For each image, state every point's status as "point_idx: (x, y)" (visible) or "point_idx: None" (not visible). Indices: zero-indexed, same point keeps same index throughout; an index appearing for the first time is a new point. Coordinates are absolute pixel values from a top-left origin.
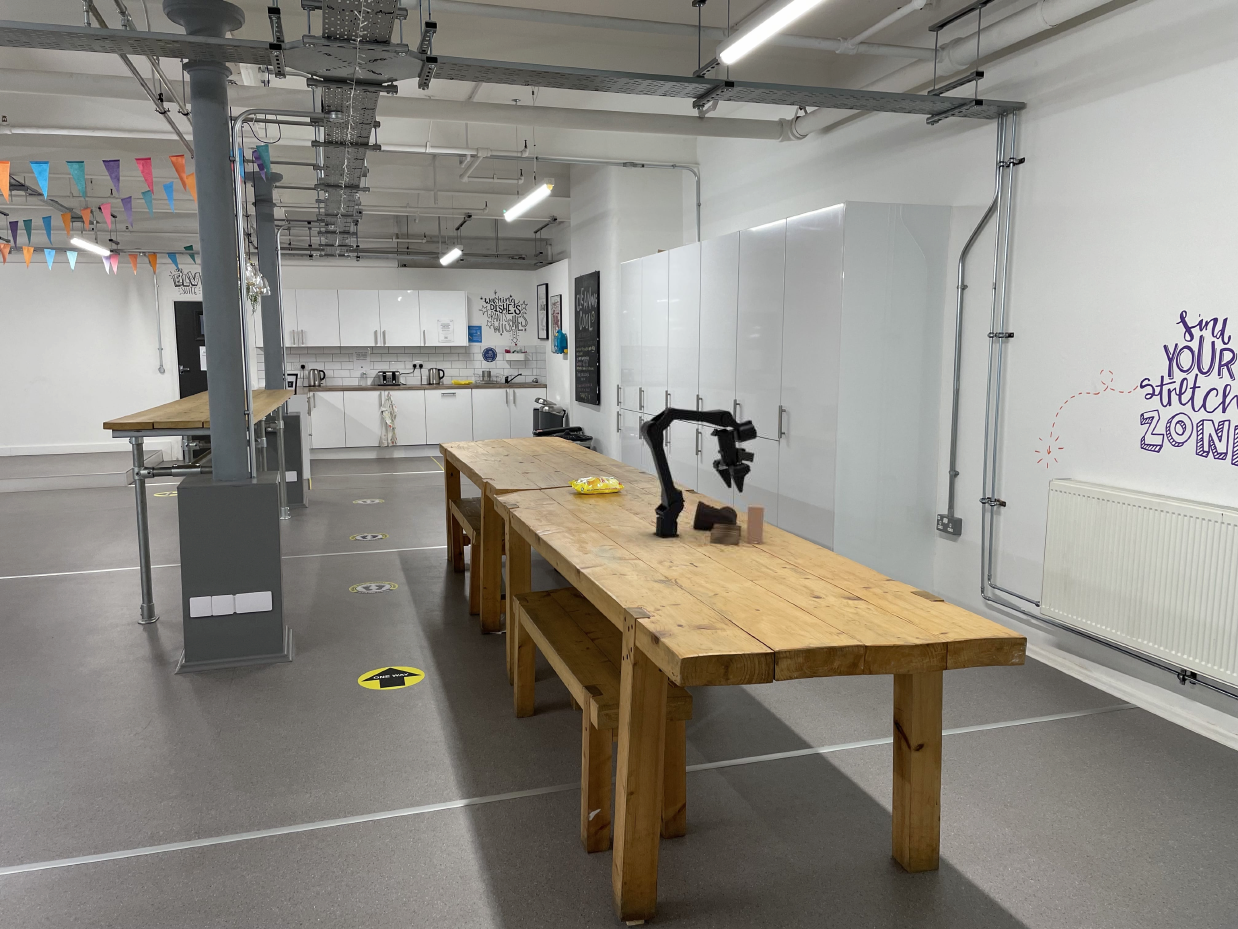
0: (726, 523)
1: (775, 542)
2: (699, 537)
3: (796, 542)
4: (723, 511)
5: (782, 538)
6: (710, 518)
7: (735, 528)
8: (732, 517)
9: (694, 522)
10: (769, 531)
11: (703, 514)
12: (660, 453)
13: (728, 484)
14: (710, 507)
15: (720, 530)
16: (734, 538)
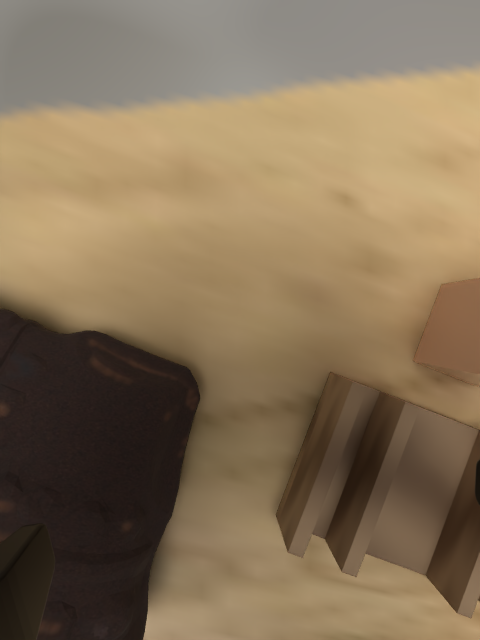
0: (187, 433)
1: (468, 220)
2: (335, 615)
3: (471, 104)
4: (12, 434)
5: (374, 143)
6: (148, 556)
7: (404, 437)
8: (111, 376)
9: None
10: (188, 148)
11: (129, 630)
12: None
13: (24, 627)
14: None
15: None
16: None
